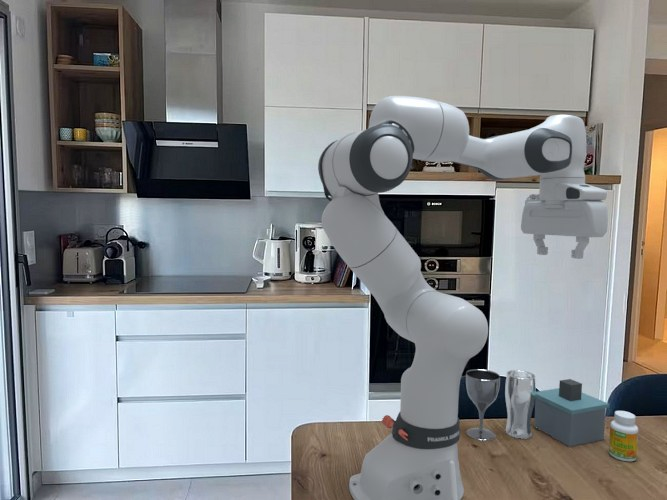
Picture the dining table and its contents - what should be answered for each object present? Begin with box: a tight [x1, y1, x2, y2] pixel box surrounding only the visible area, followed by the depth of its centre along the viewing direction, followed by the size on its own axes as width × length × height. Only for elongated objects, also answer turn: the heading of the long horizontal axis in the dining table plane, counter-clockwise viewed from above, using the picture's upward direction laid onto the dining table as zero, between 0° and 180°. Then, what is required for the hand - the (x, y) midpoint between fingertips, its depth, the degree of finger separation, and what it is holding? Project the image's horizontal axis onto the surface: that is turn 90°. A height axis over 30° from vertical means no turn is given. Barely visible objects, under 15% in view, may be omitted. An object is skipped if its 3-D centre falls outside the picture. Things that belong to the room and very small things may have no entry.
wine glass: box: [465, 368, 501, 442], centre depth 116 cm, size 8×8×15 cm
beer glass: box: [504, 369, 537, 440], centre depth 116 cm, size 7×7×15 cm
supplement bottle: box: [608, 410, 639, 462], centre depth 106 cm, size 5×5×10 cm
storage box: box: [533, 397, 607, 448], centre depth 117 cm, size 11×11×8 cm
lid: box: [535, 378, 610, 415], centre depth 117 cm, size 12×12×5 cm
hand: (559, 256), depth 103 cm, fingers open, 8 cm apart
